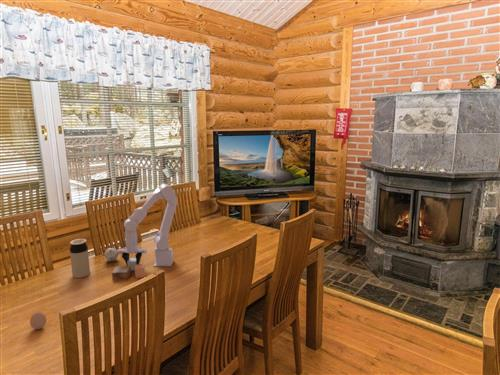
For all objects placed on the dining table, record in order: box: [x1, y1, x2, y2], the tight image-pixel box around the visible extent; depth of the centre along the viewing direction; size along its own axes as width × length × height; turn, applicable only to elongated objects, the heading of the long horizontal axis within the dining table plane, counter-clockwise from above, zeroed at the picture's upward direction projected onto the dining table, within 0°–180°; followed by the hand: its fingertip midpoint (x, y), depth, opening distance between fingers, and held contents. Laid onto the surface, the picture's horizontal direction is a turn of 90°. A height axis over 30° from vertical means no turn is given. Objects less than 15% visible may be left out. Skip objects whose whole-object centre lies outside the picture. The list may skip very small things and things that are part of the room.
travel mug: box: [69, 238, 91, 279], centre depth 168 cm, size 8×8×18 cm
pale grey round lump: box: [102, 246, 119, 263], centre depth 186 cm, size 9×8×10 cm
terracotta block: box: [134, 263, 146, 279], centre depth 170 cm, size 4×4×5 cm
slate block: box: [126, 257, 137, 271], centre depth 177 cm, size 4×4×5 cm
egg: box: [29, 310, 47, 330], centre depth 125 cm, size 5×5×7 cm
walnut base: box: [111, 265, 132, 281], centre depth 168 cm, size 7×7×4 cm
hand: (133, 266), depth 177 cm, fingers closed on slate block, 4 cm apart
